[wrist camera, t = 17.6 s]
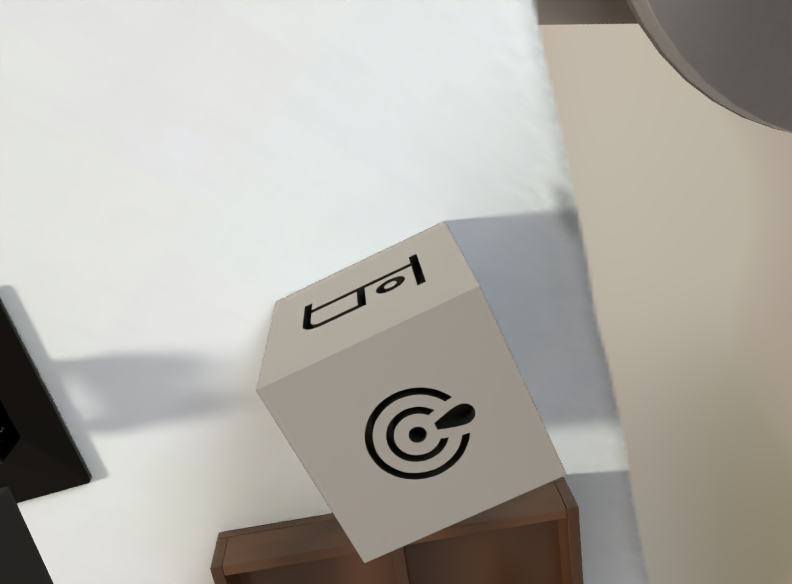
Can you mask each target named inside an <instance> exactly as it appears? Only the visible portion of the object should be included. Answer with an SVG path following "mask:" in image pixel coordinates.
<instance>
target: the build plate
mask: <svg viewBox="0 0 792 584" xmlns="http://www.w3.org/2000/svg"><path fill="white" fill-rule="evenodd" d="M91 478H92V475H91V473H90V471H89V469H88V467H87V465H86V463H85V461H84V459H83V458H82V456H81V454H80V452H79V450H78V448H77V446H76V444H75V442H74V440H73V438H72V436H71V434H70V432H69V430H68V428H67V426H66V424H65V422H64V420H63V419H62V417H61V415H60V413H59V411H58V409H57V407H56V405H55V403H54V401H53V399H52V397H51V395H50V393H49V391H48V389H47V387H46V385H45V383H44V381H43V380H42V378H41V376H40V374H39V372H38V370H37V368H36V366H35V364H34V362H33V360H32V358H31V356H30V354H29V352H28V350H27V348H26V346H25V344H24V342H23V341H22V339H21V337H20V335H19V333H18V331H17V329H16V327H15V325H14V323H13V321H12V319H11V317H10V315H9V313H8V311H7V309H6V307H5V305H4V303H3V302H2V300H1V298H0V488H3V487H8V486H9V489H10V491H11V493H12V495H13V497H14V499H15V502H16V503H18V502H22V501H25V500H29V499H33V498H36V497H40V496H43V495H47V494H51V493H54V492H58V491H61V490H65V489H69V488H72V487H76V486H79V485H83V484H87V483H89V482H90V480H91Z"/></svg>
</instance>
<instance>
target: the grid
mask: <svg viewBox="0 0 792 584" xmlns="http://www.w3.org/2000/svg"><path fill="white" fill-rule="evenodd" d="M210 569H211V573H212V576H213V579H214V583H215V584H583V573H582V556H581V540H580V524H579V507H578V505H577V503H576V501H575V499H574V497H573V495H572V493H571V491H570V489H569V487H568V485H567V483H566V481H565V479H564V477H560V478H558V479H556V480H553V481H551V482H549V483H547V484H544V485H542V486H540V487H537V488H535V489H533V490H531V491H528V492H526V493H524V494H521V495H519V496H517V497H515V498H512V499H510V500H508V501H505V502H503V503H501V504H499V505H496V506H494V507H492V508H489V509H487V510H485V511H483V512H480V513H478V514H476V515H474V516H471V517H469V518H467V519H464V520H462V521H460V522H458V523H455V524H453V525H451V526H448V527H446V528H444V529H442V530H439V531H437V532H435V533H432V534H430V535H428V536H426V537H423V538H421V539H419V540H416V541H414V542H412V543H410V544H407V545H405V546H403V547H400V548H398V549H396V550H394V551H391V552H389V553H387V554H384V555H382V556H380V557H378V558H375V559H373V560H371V561H368V562H366V563H364V562H363V560H362V558H361V557H360V555H359V554H358V552H357V550H356V549H355V547H354V546H353V544H352V543H351V541H350V539H349V538H348V536H347V535H346V533H345V531H344V530H343V528H342V527H341V525H340V523H339V522H338V520H337V519H336V517H335V515H334V514H329V515H323V516H317V517H311V518H305V519H299V520H293V521H287V522H281V523H275V524H269V525H263V526H257V527H251V528H245V529H239V530H233V531H227V532H221V533H219V534H218V538H217V543H216V547H215V551H214V555H213V559H212V564H211V568H210Z"/></svg>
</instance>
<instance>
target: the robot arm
mask: <svg viewBox="0 0 792 584" xmlns="http://www.w3.org/2000/svg"><path fill="white" fill-rule="evenodd" d="M0 584H53V582H52V579H51V577H50V575H49V573H48V571H47V569H46V566H45V564H44V562H43V560H42V558H41V556H40V554H39V551H38V549H37V547H36V545H35V543H34V541H33V538H32V536H31V534H30V532H29V530H28V528H27V525H26V523H25V521H24V519H23V517H22V515H21V512H20V510H19V508H18V506H17V504H16V502H15V499H14V497H13V495H12V493H11V491H10V489H9V486H8V487H3V488H0Z"/></svg>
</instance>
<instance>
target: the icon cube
mask: <svg viewBox="0 0 792 584" xmlns="http://www.w3.org/2000/svg"><path fill="white" fill-rule="evenodd" d="M256 391H257V393H258V394H259V396H260V398H261V399H262V401H263V402H264V404H265V406H266V407H267V409H268V410H269V412H270V413H271V415H272V417H273V418H274V420H275V421H276V423H277V425H278V426H279V428H280V429H281V431H282V433H283V434H284V436H285V437H286V439H287V441H288V442H289V444H290V445H291V447H292V449H293V450H294V452H295V453H296V455H297V456H298V458H299V460H300V461H301V463H302V464H303V466H304V468H305V469H306V471H307V472H308V474H309V476H310V477H311V479H312V480H313V482H314V484H315V485H316V487H317V488H318V490H319V492H320V493H321V495H322V496H323V498H324V499H325V501H326V503H327V504H328V506H329V507H330V509H331V511H332V512H333V514H334V515H335V517H336V519H337V520H338V522H339V523H340V525H341V527H342V528H343V530H344V531H345V533H346V535H347V536H348V538H349V539H350V541H351V543H352V544H353V546H354V547H355V549H356V550H357V552H358V554H359V555H360V557H361V558H362V560H363V562H364V563H366V562H368V561H371V560H373V559H375V558H378V557H380V556H382V555H384V554H387V553H389V552H391V551H394V550H396V549H398V548H400V547H403V546H405V545H407V544H410V543H412V542H414V541H416V540H419V539H421V538H423V537H426V536H428V535H430V534H432V533H435V532H437V531H439V530H442V529H444V528H446V527H448V526H451V525H453V524H455V523H458V522H460V521H462V520H464V519H467V518H469V517H471V516H474V515H476V514H478V513H480V512H483V511H485V510H487V509H489V508H492V507H494V506H496V505H499V504H501V503H503V502H505V501H508V500H510V499H512V498H515V497H517V496H519V495H521V494H524V493H526V492H528V491H531V490H533V489H535V488H537V487H540V486H542V485H544V484H547V483H549V482H551V481H553V480H556V479H558V478H560V477H563V476H565V475H567V474H566V472H565V470H564V468H563V465H562V463H561V461H560V459H559V457H558V455H557V452H556V450H555V448H554V446H553V444H552V442H551V439H550V437H549V435H548V433H547V431H546V428H545V426H544V424H543V422H542V420H541V418H540V415H539V413H538V411H537V409H536V407H535V405H534V402H533V400H532V398H531V396H530V394H529V392H528V389H527V387H526V385H525V383H524V381H523V378H522V376H521V374H520V372H519V370H518V368H517V365H516V363H515V361H514V359H513V357H512V355H511V352H510V350H509V348H508V346H507V344H506V341H505V339H504V337H503V335H502V333H501V331H500V328H499V326H498V324H497V322H496V320H495V318H494V315H493V313H492V311H491V309H490V307H489V305H488V302H487V300H486V298H485V296H484V294H483V291H482V289H481V287H480V285H479V283H478V281H477V280H476V278H475V276H474V274H473V272H472V271H471V269H470V267H469V265H468V263H467V261H466V260H465V258H464V256H463V254H462V252H461V251H460V249H459V247H458V245H457V243H456V241H455V240H454V238H453V236H452V234H451V232H450V231H449V229H448V227H447V225H446V223H445V221H444V222H442V223H439V224H437V225H435V226H433V227H431V228H429V229H427V230H425V231H423V232H421V233H419V234H416V235H414V236H412V237H410V238H408V239H406V240H404V241H402V242H400V243H398V244H396V245H393V246H391V247H389V248H387V249H385V250H383V251H381V252H379V253H377V254H375V255H373V256H370V257H368V258H366V259H364V260H362V261H360V262H358V263H356V264H354V265H352V266H350V267H347V268H345V269H343V270H341V271H339V272H337V273H335V274H333V275H331V276H329V277H327V278H324V279H322V280H320V281H318V282H316V283H314V284H312V285H310V286H308V287H306V288H303V289H301V290H299V291H297V292H295V293H293V294H291V295H289V296H287V297H285V298H283V299H280V300H278V301H276V303H275V308H274V312H273V317H272V321H271V326H270V330H269V334H268V339H267V343H266V348H265V352H264V357H263V361H262V366H261V370H260V375H259V379H258V383H257V388H256Z"/></svg>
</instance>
